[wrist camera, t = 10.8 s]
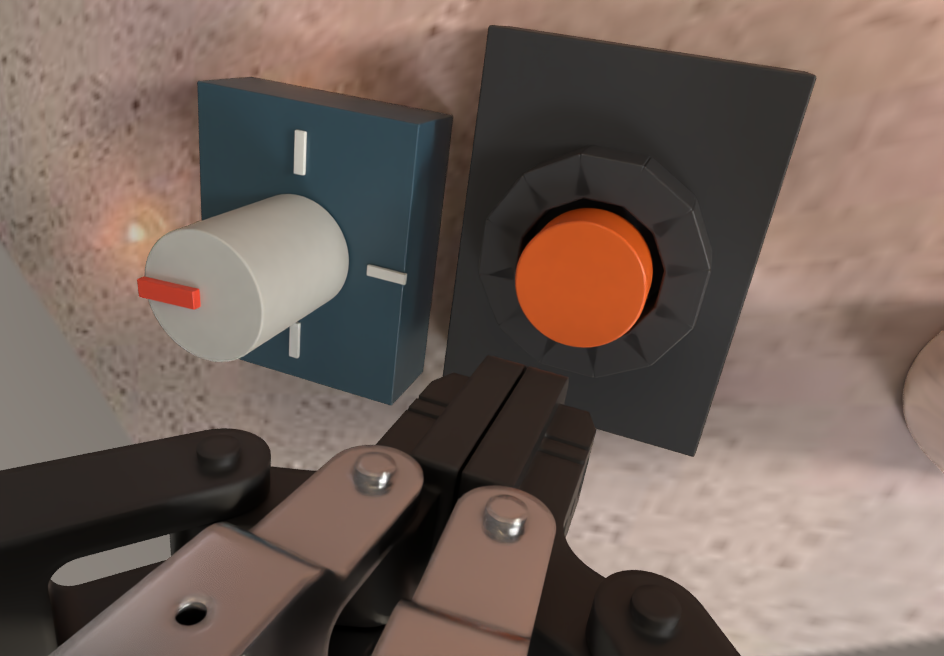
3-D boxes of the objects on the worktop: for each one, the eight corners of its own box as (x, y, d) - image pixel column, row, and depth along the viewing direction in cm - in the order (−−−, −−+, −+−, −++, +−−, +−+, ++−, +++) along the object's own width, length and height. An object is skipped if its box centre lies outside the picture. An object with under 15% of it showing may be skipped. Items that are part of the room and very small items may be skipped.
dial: (350, 203, 23) (253, 245, 18) (348, 316, 24) (259, 380, 20) (245, 185, 24) (128, 219, 19) (250, 293, 25) (143, 350, 21)
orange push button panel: (697, 425, 25) (691, 488, 21) (461, 359, 27) (421, 407, 24) (809, 71, 20) (826, 78, 16) (509, 26, 22) (467, 23, 19)
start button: (637, 339, 21) (629, 363, 19) (520, 309, 22) (505, 330, 20) (667, 222, 19) (662, 238, 18) (541, 195, 20) (525, 208, 19)
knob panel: (425, 372, 28) (392, 409, 25) (249, 321, 30) (200, 350, 27) (456, 115, 24) (420, 125, 21) (248, 76, 26) (190, 80, 23)
